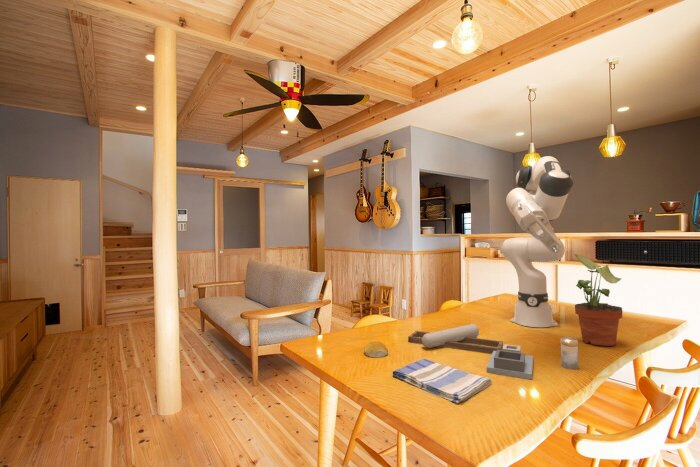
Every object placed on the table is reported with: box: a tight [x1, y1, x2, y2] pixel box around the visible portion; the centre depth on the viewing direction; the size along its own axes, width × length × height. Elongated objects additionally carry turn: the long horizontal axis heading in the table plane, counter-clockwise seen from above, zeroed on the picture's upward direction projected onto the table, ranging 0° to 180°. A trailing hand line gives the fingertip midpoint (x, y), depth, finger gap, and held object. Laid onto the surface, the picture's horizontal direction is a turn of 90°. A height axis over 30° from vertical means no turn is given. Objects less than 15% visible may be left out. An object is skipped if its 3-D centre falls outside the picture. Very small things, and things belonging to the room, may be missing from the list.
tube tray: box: [407, 330, 504, 355], centre depth 129 cm, size 9×33×2 cm, turn 60°
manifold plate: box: [486, 343, 534, 381], centre depth 107 cm, size 16×12×4 cm
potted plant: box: [574, 253, 623, 347], centre depth 125 cm, size 16×15×35 cm
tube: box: [421, 323, 480, 349], centre depth 129 cm, size 5×5×25 cm
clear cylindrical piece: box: [559, 336, 579, 370], centre depth 105 cm, size 5×5×8 cm
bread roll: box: [364, 341, 389, 358], centre depth 122 cm, size 8×9×4 cm
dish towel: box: [392, 358, 493, 404], centre depth 98 cm, size 17×24×3 cm
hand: (549, 243), depth 106 cm, fingers open, 8 cm apart
